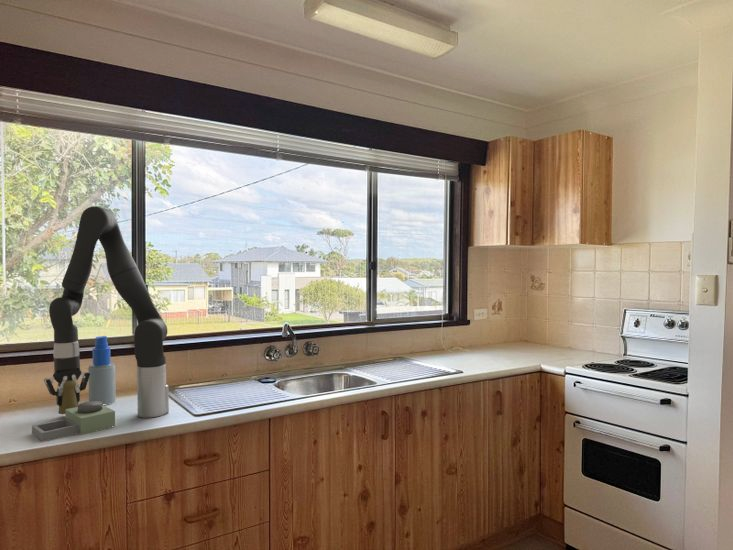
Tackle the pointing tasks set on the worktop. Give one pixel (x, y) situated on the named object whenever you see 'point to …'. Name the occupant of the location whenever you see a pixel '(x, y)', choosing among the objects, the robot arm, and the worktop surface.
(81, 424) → the stepped tray with pebble
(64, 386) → the olive brown upright piece
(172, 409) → the worktop surface
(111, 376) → the spray bottle
